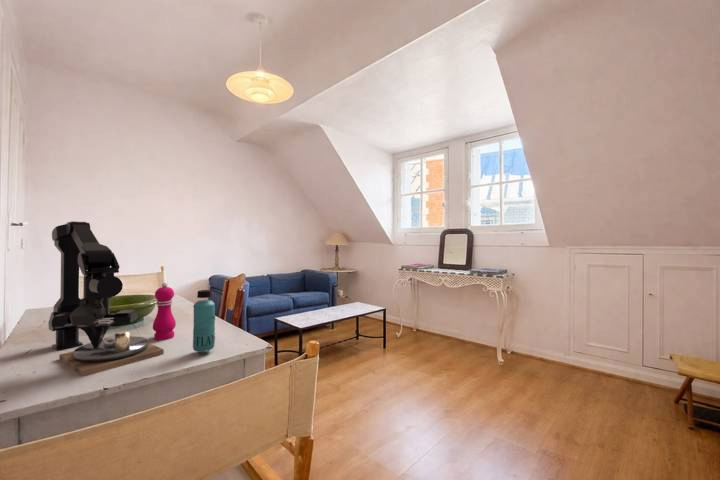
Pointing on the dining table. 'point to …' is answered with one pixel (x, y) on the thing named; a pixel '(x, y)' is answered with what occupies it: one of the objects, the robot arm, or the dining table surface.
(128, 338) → the handwheel
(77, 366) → the wheel mount
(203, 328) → the beverage bottle
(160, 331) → the pepper mill
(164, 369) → the dining table surface
